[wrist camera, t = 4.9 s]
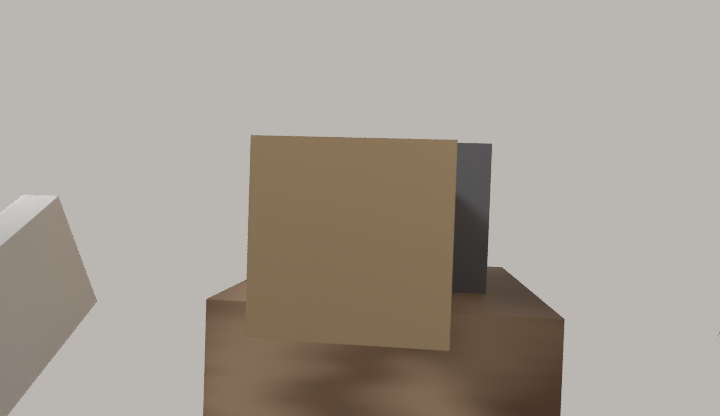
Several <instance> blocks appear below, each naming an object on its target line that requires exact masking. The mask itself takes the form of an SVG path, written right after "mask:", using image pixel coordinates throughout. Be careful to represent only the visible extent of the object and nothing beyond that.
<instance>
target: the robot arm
mask: <svg viewBox="0 0 720 416" xmlns="http://www.w3.org/2000/svg"><path fill="white" fill-rule="evenodd" d="M96 302H97V300H96V297H95V295H94V292H93V289H92V287H91V284H90V281H89V278H88V276H87V274H86V270H85V268H84V265H83V262H82V260H81V257H80V254H79V251H78V249H77V246H76V243H75V240H74V238H73V235H72V232H71V230H70V227H69V224H68V221H67V219H66V216H65V213H64V211H63V208H62V205H61V202H60V200H59V197H58V196H39V195H22V196H21V197H20V198H18V199H17V200H16V201H14V202H13V203H12V204H11V205H9V206H8V207H7V208H5V209H4V210H3V211H2V212H1V213H0V416H7V415H8V414H9V413H10V412H11V410H12V409H13V408H14V406H15V405H16V404H17V403H18V401H19V400H20V399H21V397H22V396H23V395H24V394H25V392H26V391H27V390H28V389H29V387H30V386H31V385H32V383H33V382H34V381H35V380H36V378H37V377H38V376H39V374H40V373H41V372H42V371H43V369H44V368H45V367H46V366H47V364H48V363H49V362H50V361H51V359H52V358H53V357H54V355H55V354H56V353H57V352H58V350H59V349H60V348H61V347H62V345H63V344H64V343H65V341H66V340H67V339H68V338H69V336H70V335H71V334H72V333H73V331H74V330H75V329H76V327H77V326H78V325H79V324H80V322H81V321H82V320H83V318H84V317H85V316H86V315H87V313H88V312H89V310H91V308H92V307H93V306H94V305H95V303H96ZM717 342H718V343H719V345H720V333H719V335H718V337H717Z"/></svg>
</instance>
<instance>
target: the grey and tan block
mask: <svg viewBox="0 0 720 416" xmlns="http://www.w3.org/2000/svg"><path fill="white" fill-rule="evenodd" d="M250 151H251V152H250V185H249V218H248V252H247V286H246V320H245V338H252V339H268V340H284V341H300V342H316V343H331V344H347V345H363V346H379V347H395V348H411V349H426V350H442V351H449V350H450V324H451V298H452V292H458V293H477V294H486V281H487V256H488V230H489V206H490V181H491V180H490V179H491V155H492V144H478V143H457V140H430V139H386V138H345V137H301V136H260V135H259V136H258V135H251V150H250Z"/></svg>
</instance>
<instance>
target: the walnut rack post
mask: <svg viewBox="0 0 720 416" xmlns="http://www.w3.org/2000/svg"><path fill="white" fill-rule="evenodd" d="M246 286H247V280H245V281H243V282H241V283H239V284H237V285H235V286H233V287H231V288H228V289H226V290H224V291H222V292H220V293H219V294H216V295H214V296H212V297H210V298H208V299H207V300H206V337H205V373H204V376H205V377H204V408H203V410H204V411H203V416H560V410H561V409H560V408H561V387H562V363H563V362H562V361H563V341H564V340H563V339H564V318H562V317H561V316H560V315H559V314H558V313H556V312H555V311H554V310H553V309H552V308H550V307H549V306H548V305H547V304H546V303H544V302H543V301H542V300H541V299H540V298H538V297H537V296H536V295H535V294H533V293H532V292H531V291H530V290H529V289H527V288H526V287H525V286H524V285H523V284H521V283H520V282H519V281H518V280H517V279H515V278H514V277H513V276H512V275H511V274H509V273H508V272H507V271H506V270H505V269H503V268H502V267H487V281H486V294H477V293H458V292H452V298H451V324H450V350H449V351H442V350H426V349H411V348H395V347H379V346H363V345H347V344H331V343H316V342H300V341H284V340H268V339H252V338H245V320H246Z"/></svg>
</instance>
